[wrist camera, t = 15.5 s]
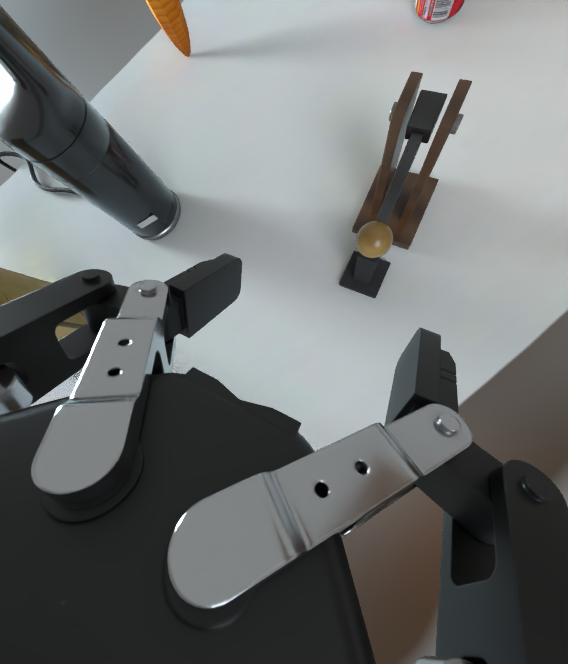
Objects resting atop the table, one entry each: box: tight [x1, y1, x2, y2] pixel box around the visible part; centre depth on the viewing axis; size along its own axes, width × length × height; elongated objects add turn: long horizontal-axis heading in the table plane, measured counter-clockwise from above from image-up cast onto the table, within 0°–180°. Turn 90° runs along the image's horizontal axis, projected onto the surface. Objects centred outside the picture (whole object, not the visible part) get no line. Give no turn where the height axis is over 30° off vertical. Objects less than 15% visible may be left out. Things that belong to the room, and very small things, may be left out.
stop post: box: [339, 251, 390, 298], centre depth 33 cm, size 5×5×8 cm
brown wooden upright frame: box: [352, 72, 472, 249], centre depth 30 cm, size 10×8×16 cm
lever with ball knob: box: [356, 90, 447, 258], centre depth 26 cm, size 14×4×4 cm, turn 155°
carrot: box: [146, 0, 191, 57], centre depth 42 cm, size 5×5×15 cm
